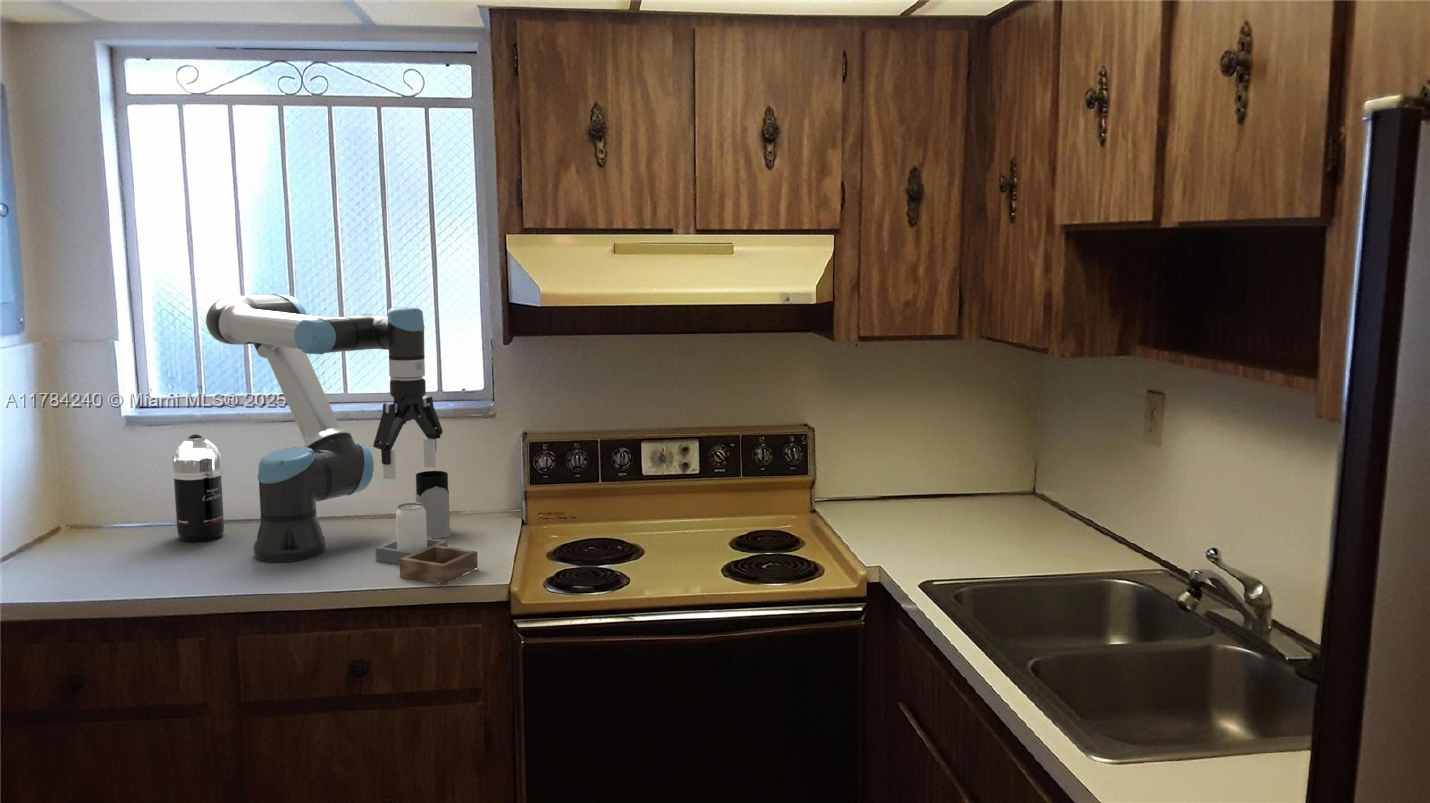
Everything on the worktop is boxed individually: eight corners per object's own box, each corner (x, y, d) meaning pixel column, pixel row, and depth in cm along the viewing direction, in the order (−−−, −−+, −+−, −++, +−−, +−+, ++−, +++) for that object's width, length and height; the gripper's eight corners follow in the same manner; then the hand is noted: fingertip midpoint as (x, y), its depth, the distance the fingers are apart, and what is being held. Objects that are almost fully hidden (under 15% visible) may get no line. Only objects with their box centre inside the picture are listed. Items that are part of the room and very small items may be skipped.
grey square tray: (376, 560, 220) (375, 547, 220) (409, 547, 230) (408, 535, 230) (416, 567, 216) (415, 554, 216) (447, 553, 226) (447, 541, 226)
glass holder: (419, 540, 236) (417, 479, 234) (406, 526, 248) (404, 467, 246) (455, 536, 240) (454, 475, 238) (441, 522, 253) (439, 464, 250)
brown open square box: (399, 577, 209) (399, 558, 209) (434, 562, 220) (434, 544, 219) (444, 584, 205) (443, 566, 205) (477, 569, 216) (477, 551, 215)
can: (418, 562, 219) (417, 510, 218) (391, 560, 221) (390, 508, 219) (432, 554, 226) (431, 503, 224) (406, 552, 227) (404, 501, 225)
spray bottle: (166, 540, 233) (159, 436, 229) (203, 529, 242) (197, 429, 239) (198, 545, 229) (192, 439, 225) (235, 534, 239) (229, 432, 235)
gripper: (382, 385, 204) (385, 485, 207) (456, 373, 227) (459, 463, 230) (353, 383, 207) (357, 482, 210) (430, 371, 230) (432, 460, 233)
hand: (410, 472), depth 220 cm, fingers open, 13 cm apart
